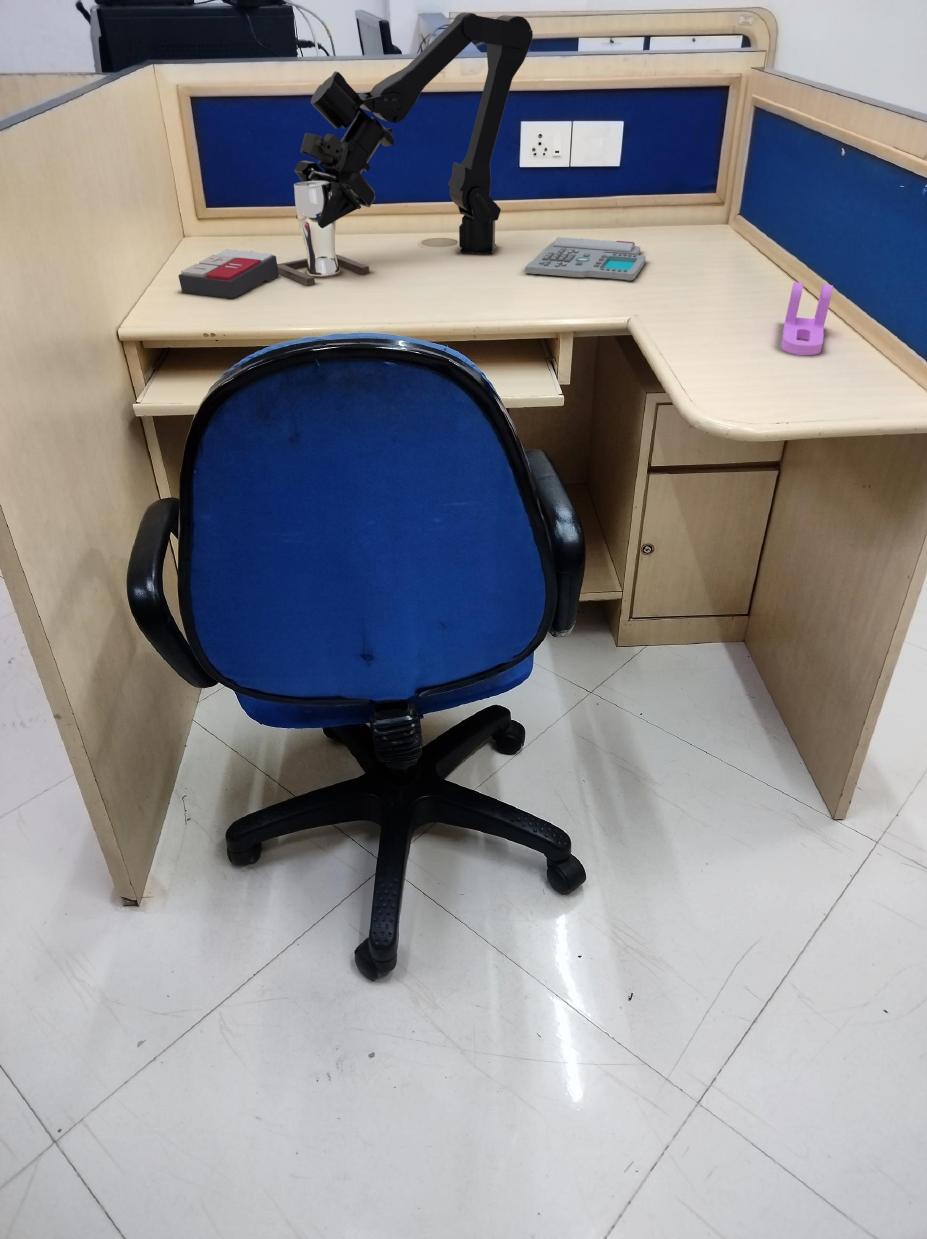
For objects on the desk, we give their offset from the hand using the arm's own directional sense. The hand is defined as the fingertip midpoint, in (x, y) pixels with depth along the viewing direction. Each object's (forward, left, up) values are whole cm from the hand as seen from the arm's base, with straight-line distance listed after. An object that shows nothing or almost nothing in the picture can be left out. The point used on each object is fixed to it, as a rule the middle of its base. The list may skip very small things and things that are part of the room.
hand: (308, 223), depth 152 cm
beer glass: (-2, -1, -9) cm, 9 cm away
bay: (-1, -2, -9) cm, 9 cm away
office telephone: (-50, -16, -9) cm, 54 cm away
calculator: (+13, +9, -9) cm, 18 cm away
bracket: (-84, +23, -9) cm, 88 cm away
